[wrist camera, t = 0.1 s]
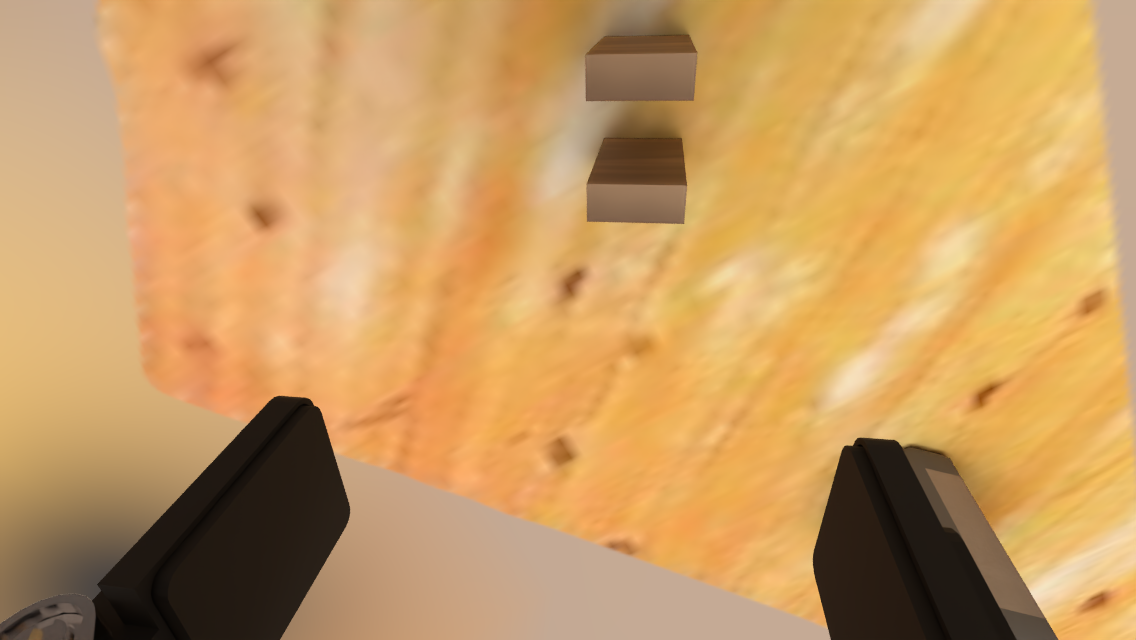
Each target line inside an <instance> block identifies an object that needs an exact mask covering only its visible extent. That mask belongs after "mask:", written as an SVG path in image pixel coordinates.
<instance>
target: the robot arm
mask: <svg viewBox="0 0 1136 640" xmlns="http://www.w3.org/2000/svg"><path fill="white" fill-rule="evenodd" d="M349 516H350V506H349V502H348V499H347V495H346V492H345V489H344V485H343V482H342V479H341V476H340V472H339V469H338V466H337V462H336V459H335V456H334V452H333V449H332V446H331V443H330V439H329V436H328V433H327V429H326V426H325V423H324V420H323V416H322V413H321V411H320V409H319V408H318V407H316V406H314V405H313V403H312V401H311V400H310V399H308V398H301V397H287V396H277V397H274V398H273V399H272V400H270V401H269V402H268V403H267V404H266V406H265V407H264V408H263V409H262V410H261V411H260V412H259V413H258V414H257V415H256V416H255V417H254V418H253V419H252V420H251V421H250V423H249V424H248V425H247V426H246V427H245V428H244V429H243V430H242V431H241V432H240V433H239V434H238V435H237V437H235V439H234V440H233V441H232V442H231V443H230V444H229V445H228V446H227V447H226V448H225V449H224V450H223V451H222V452H221V454H220V455H219V456H218V457H217V458H216V459H215V460H214V461H213V462H212V463H211V464H210V465H209V466H208V467H207V468H206V469H205V470H204V471H203V473H202V474H201V475H200V476H199V477H198V478H197V479H196V480H195V481H194V482H193V483H192V484H191V485H190V486H189V488H187V490H186V491H185V492H184V493H183V494H182V495H181V496H180V497H179V498H178V499H177V500H176V501H175V502H174V504H172V506H171V507H170V508H169V509H168V510H167V511H166V512H165V513H164V514H163V515H162V516H161V517H160V518H159V519H158V520H157V522H156V523H155V524H154V525H153V526H152V527H151V528H150V529H149V530H148V531H147V532H146V533H145V534H144V535H143V536H142V537H141V539H140V540H139V541H138V542H137V543H136V544H135V545H134V546H133V547H132V548H131V549H130V550H129V551H128V552H127V553H126V555H124V557H123V558H122V559H121V560H120V561H119V562H118V563H117V564H116V565H115V566H114V567H113V568H112V570H111V571H110V572H109V573H108V574H107V575H106V576H105V577H104V578H103V579H102V580H101V581H100V582H99V583H98V584H97V585H98V586H99V588H100V589H101V592H100V593H99V594H98V595H97V596H96V597H95V598H94V599H93V600H92V601H91V600H90V599H89V598H87V596H82V595H79V594H63V595H57V596H53V597H50V598H47V599H44V600H41V601H38V602H36V603H34V604H32V605H30V606H28V607H26V608H24V609H22V610H20V611H19V612H17V613H15V614H14V615H12V616H11V617H9V618H8V619H6V620H5V621H3V622H2V623H1V624H0V640H280V639H281V637H282V635H283V633H284V632H285V630H286V628H287V627H288V625H289V623H290V622H291V620H292V618H293V616H294V615H295V613H296V611H297V610H298V608H299V606H300V604H301V602H302V601H303V599H304V598H305V596H306V594H307V592H308V591H309V589H310V587H311V586H312V584H313V582H314V580H315V579H316V577H317V575H318V574H319V572H320V570H321V568H322V567H323V565H324V563H325V562H326V560H327V558H328V556H329V555H330V553H331V551H332V550H333V548H334V546H335V544H336V543H337V541H338V539H339V538H340V536H341V534H342V532H343V531H344V529H345V527H346V525H347V523H348V520H349ZM813 568H814V574H815V579H816V583H817V586H818V590H819V594H820V598H821V602H822V606H823V610H824V614H825V618H826V622H827V626H828V630H829V634H830V637H831V640H1017V639H1016V637H1015V635H1014V634H1013V632H1012V630H1011V628H1010V626H1009V624H1008V622H1007V620H1006V619H1005V617H1004V615H1003V613H1002V611H1001V609H1000V607H999V606H998V604H997V602H996V600H995V598H994V596H993V594H992V593H991V591H990V589H989V587H988V585H987V583H986V581H985V579H984V578H983V576H982V574H981V572H980V570H979V568H978V566H977V565H976V563H975V561H974V559H973V557H972V555H971V553H970V552H969V550H968V548H967V546H966V544H965V542H964V541H963V539H962V538H961V536H960V535H959V534H958V533H957V532H956V531H955V530H954V529H952V528H949V527H942V525H941V523H940V521H939V519H938V517H937V515H936V513H935V511H934V509H933V508H932V506H931V504H930V502H929V500H928V498H927V496H926V494H925V492H924V490H923V488H922V486H921V484H920V482H919V480H918V478H917V476H916V474H915V472H914V470H913V468H912V466H911V464H910V462H909V461H908V459H907V457H906V455H905V453H904V451H903V449H902V447H901V445H900V444H899V443H898V442H897V441H895V440H886V439H872V438H857V440H856V441H855V443H854V445H853V446H844V448H843V450H842V452H841V456H840V459H839V463H838V466H837V470H836V474H835V477H834V481H833V484H832V488H831V492H830V495H829V499H828V502H827V506H826V509H825V513H824V517H823V520H822V524H821V527H820V531H819V535H818V538H817V542H816V545H815V549H814V554H813Z"/></svg>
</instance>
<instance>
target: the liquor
mask: <svg viewBox="0 0 1136 640" xmlns="http://www.w3.org/2000/svg"><path fill="white" fill-rule="evenodd" d="M903 451H904V453H905V455H906V457H907V459H908V461H909V462H910V464H911V466H912V468H913V470H914V472H915V474H916V476H917V478H918V480H919V482H920V484H921V486H922V488H923V490H924V492H925V494H926V496H927V498H928V500H929V502H930V504H931V506H932V508H933V509H934V511H935V513H936V515H937V517H938V519H939V521H940V523H941V525H942V527H949V528H952V529H954V530H955V531H956V532H957V533H958V534H959V535H960V536H961V538H962V539H963V541H964V542H965V544H966V546H967V548H968V550H969V552H970V553H971V555H972V557H973V559H974V561H975V563H976V565H977V566H978V568H979V570H980V572H981V574H982V576H983V578H984V579H985V581H986V583H987V585H988V587H989V589H990V591H991V593H992V594H993V596H994V598H995V600H996V602H997V604H998V606H999V607H1000V609H1001V611H1002V613H1003V615H1004V617H1005V619H1006V620H1007V622H1008V624H1009V626H1010V628H1011V630H1012V632H1013V634H1014V635H1015V637H1016V639H1017V640H1058V638H1057V637H1056V635H1055V633H1054V632H1053V630H1052V628H1051V627H1050V625H1049V623H1048V622H1047V620H1046V618H1045V617H1044V615H1043V613H1042V612H1041V610H1040V608H1039V607H1038V605H1037V603H1036V602H1035V600H1034V598H1033V597H1032V595H1031V593H1030V592H1029V590H1028V588H1027V587H1026V585H1025V583H1024V582H1023V580H1022V578H1021V576H1020V575H1019V573H1018V571H1017V570H1016V568H1015V566H1014V565H1013V563H1012V561H1011V560H1010V558H1009V556H1008V555H1007V553H1006V551H1005V550H1004V548H1003V546H1002V545H1001V543H1000V541H999V540H998V538H997V536H996V535H995V533H994V531H993V530H992V528H991V526H990V525H989V523H988V521H987V520H986V518H985V516H984V515H983V513H982V511H981V510H980V508H979V506H978V505H977V503H976V501H975V500H974V498H973V496H972V495H971V493H970V491H969V490H968V488H967V486H966V485H965V483H964V481H963V480H962V478H961V476H960V475H959V473H958V471H957V470H956V468H955V466H954V465H953V463H952V461H951V459H950V458H948V457H945V456H943V455H941V454H937V453H933V452H929V451H925V450H920V449H916V448H912V447H908V448H905V449H903Z"/></svg>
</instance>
